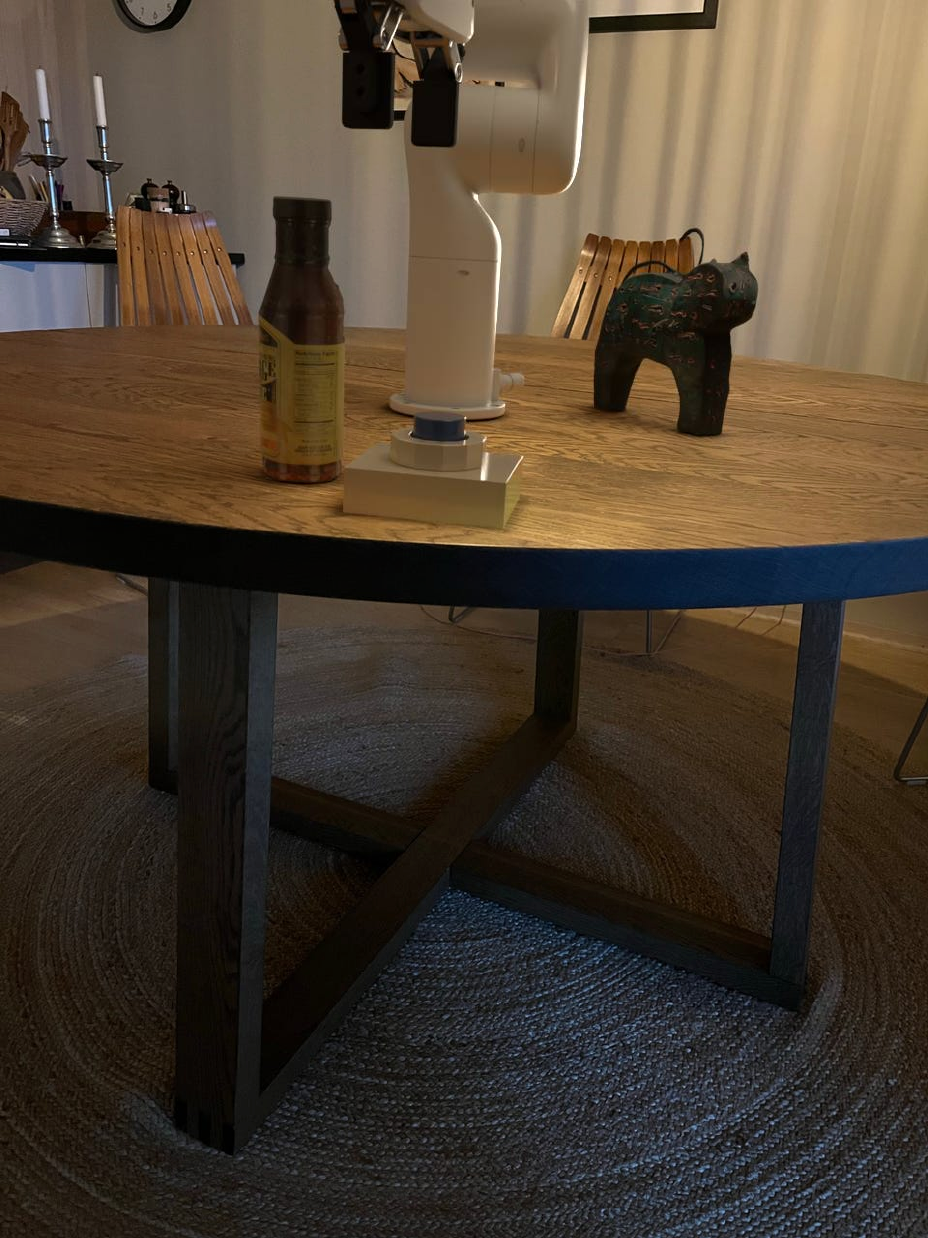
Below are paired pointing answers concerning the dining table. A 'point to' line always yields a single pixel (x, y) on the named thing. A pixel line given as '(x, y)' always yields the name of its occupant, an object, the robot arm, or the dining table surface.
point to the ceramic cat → (676, 335)
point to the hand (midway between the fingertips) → (402, 137)
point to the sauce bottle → (302, 349)
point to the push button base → (434, 481)
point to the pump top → (439, 426)
